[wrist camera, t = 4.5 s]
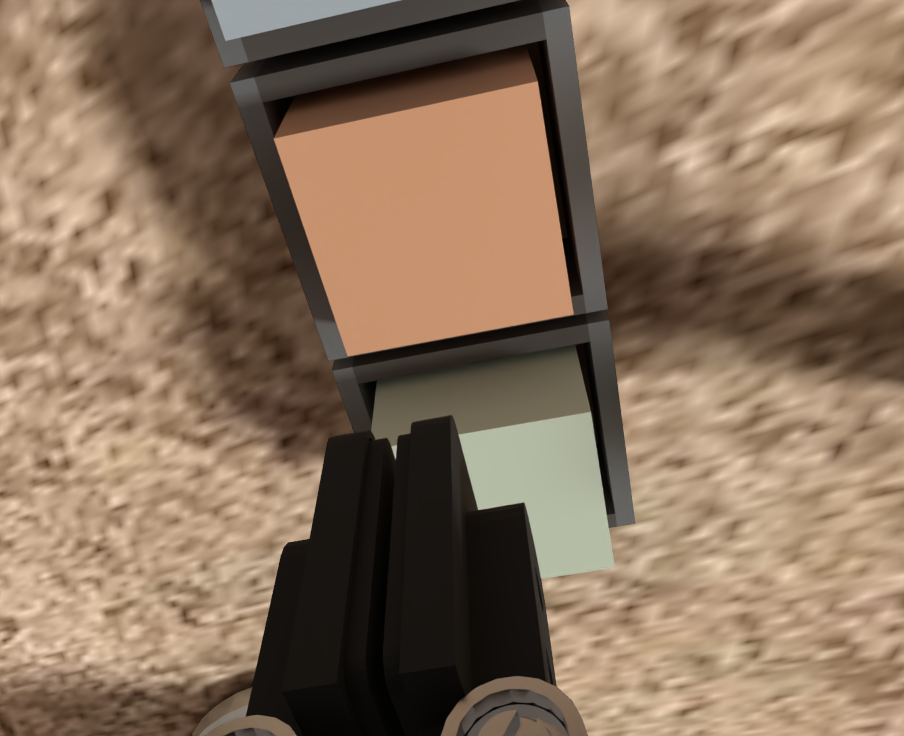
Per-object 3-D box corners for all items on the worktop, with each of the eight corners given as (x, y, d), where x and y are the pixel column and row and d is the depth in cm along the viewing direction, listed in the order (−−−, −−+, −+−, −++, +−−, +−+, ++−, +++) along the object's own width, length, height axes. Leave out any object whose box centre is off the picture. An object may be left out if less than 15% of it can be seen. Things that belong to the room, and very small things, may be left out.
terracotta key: (553, 233, 21) (573, 314, 18) (361, 271, 22) (347, 356, 19) (521, 29, 19) (537, 81, 15) (303, 79, 19) (273, 139, 16)
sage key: (591, 463, 25) (614, 567, 21) (423, 491, 25) (420, 596, 22) (568, 317, 22) (591, 412, 18) (380, 352, 22) (368, 450, 19)
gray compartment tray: (615, 448, 27) (639, 539, 24) (408, 483, 28) (403, 576, 25) (463, -661, 14) (469, -804, 11) (77, -538, 15) (-30, -635, 11)
